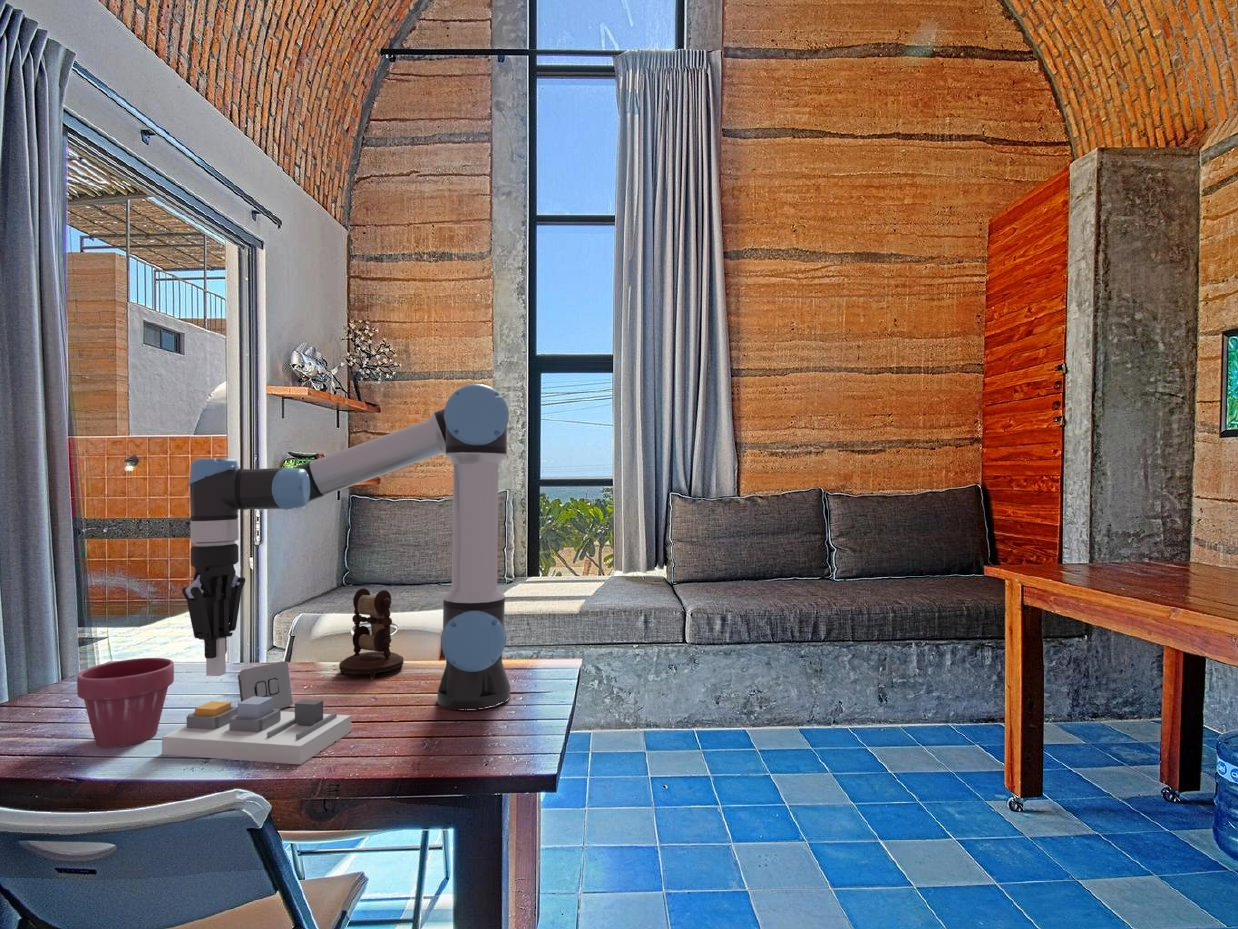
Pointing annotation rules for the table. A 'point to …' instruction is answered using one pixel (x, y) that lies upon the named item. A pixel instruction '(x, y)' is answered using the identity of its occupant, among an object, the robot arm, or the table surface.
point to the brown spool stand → (371, 636)
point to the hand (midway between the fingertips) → (216, 674)
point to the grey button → (255, 707)
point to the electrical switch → (267, 683)
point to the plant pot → (125, 699)
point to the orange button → (213, 708)
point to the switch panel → (255, 737)
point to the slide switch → (308, 711)
